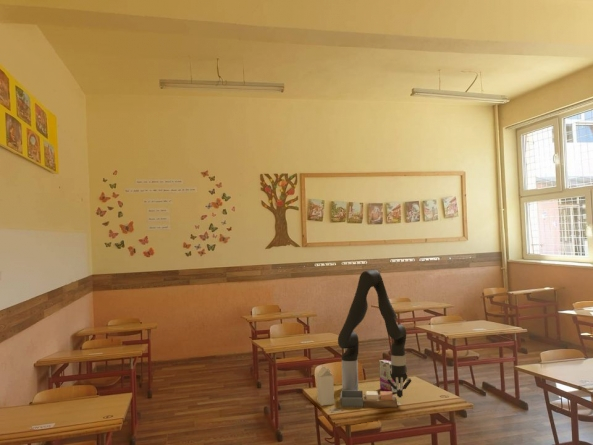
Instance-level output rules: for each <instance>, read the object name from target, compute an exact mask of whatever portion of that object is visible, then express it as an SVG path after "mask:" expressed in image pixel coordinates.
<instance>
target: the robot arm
mask: <svg viewBox="0 0 593 445" xmlns="http://www.w3.org/2000/svg"><path fill="white" fill-rule="evenodd" d="M358 278H359V279H358V282H357V287H356V290H355V294H354V297H353V298H352V302H351V305H350V308H349V311H348V313H347V316H346V319H345V321H344V324H343V326H342V328H341V330H340V332H339V335H338V337H337V344H338V346H339V347H340V349H343V350H345V349H346V351H345V352H343V353H342V354H341V378H342V380H341V381H342V382H341V384H342V390H359V368H358V366H359V365H358V356H359V337H358V334H357V332H356V331H354V330H355V329H356V328H357V327H358V326H359V325H360V324H361V323H362V321H363V320H364V319H365V317H366V314H367V311H368V308H369V307H368V301H367V300H368V299H367V298H368V294H369V291H370V290H371V288H374V290H375V291H376V294H377V300H378V301H377V304H378V310H379V311H380V315H381V316H382V318H383V320H384V325H385V329H386V332H387V334H388V336H389V338H390V339H392V340H393V343H392V344H391V345H390V352H391V355H390V357H391V358H390V361H391V370H392V374H391V377H390V378H387V381H388V382H389V383H390V385H391V386H392V387H393V388H394V389H396V390H397V393H396V397H398V398H402V397H403V394H404V393H403V390H406V389H407V388H408V387H409V385H410V384H411V383H412V379H411V378H410V377H408V374H407V360H406V349H405V347H406V346H405V345H406V339H407V329H406V327H405V325H403V324H398V323H397V318H398V316H397V314H396V312H395V310H394V307H393V305H392V304H391V301H390V298H389V295H388V292H387V290H386V286H385V284H384V280H383V278H382V275H381V273H380V272H379V271H378V269H373V268H372V269H369V270H364V271H362V273H360V275H359V277H358ZM392 379H393V381H394V382H395V383H396V386H395V385H394V384H393V383H392Z"/></svg>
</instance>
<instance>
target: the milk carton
mask: <svg viewBox="0 0 593 445" xmlns="http://www.w3.org/2000/svg"><path fill="white" fill-rule="evenodd" d="M334 384H335V383H334V375H333V374H332V373H331V369H329V368H327V367H326V366H324V365H322V366H321V368H320V370H318V371H317V372H316V398H317V400H316V402H317V403H318V404H319V405H320V406H321V407H322V406H330V405H331V406H332V405H335V391H334Z"/></svg>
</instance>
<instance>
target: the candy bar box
mask: <svg viewBox="0 0 593 445" xmlns="http://www.w3.org/2000/svg"><path fill="white" fill-rule="evenodd" d="M378 364H379V366H378V367H379V389H380V390H382V391H392V394H397V390H396V389H394V388H393V387H392V386H391V385H390V383H389V382H388V381H387V378H390V377H391V374H392V370H391V360H387V359H381V360H380V359H379V363H378ZM392 383H393V384H394V385H395V386H396V383H395V382H394V381H393V379H392Z"/></svg>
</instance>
